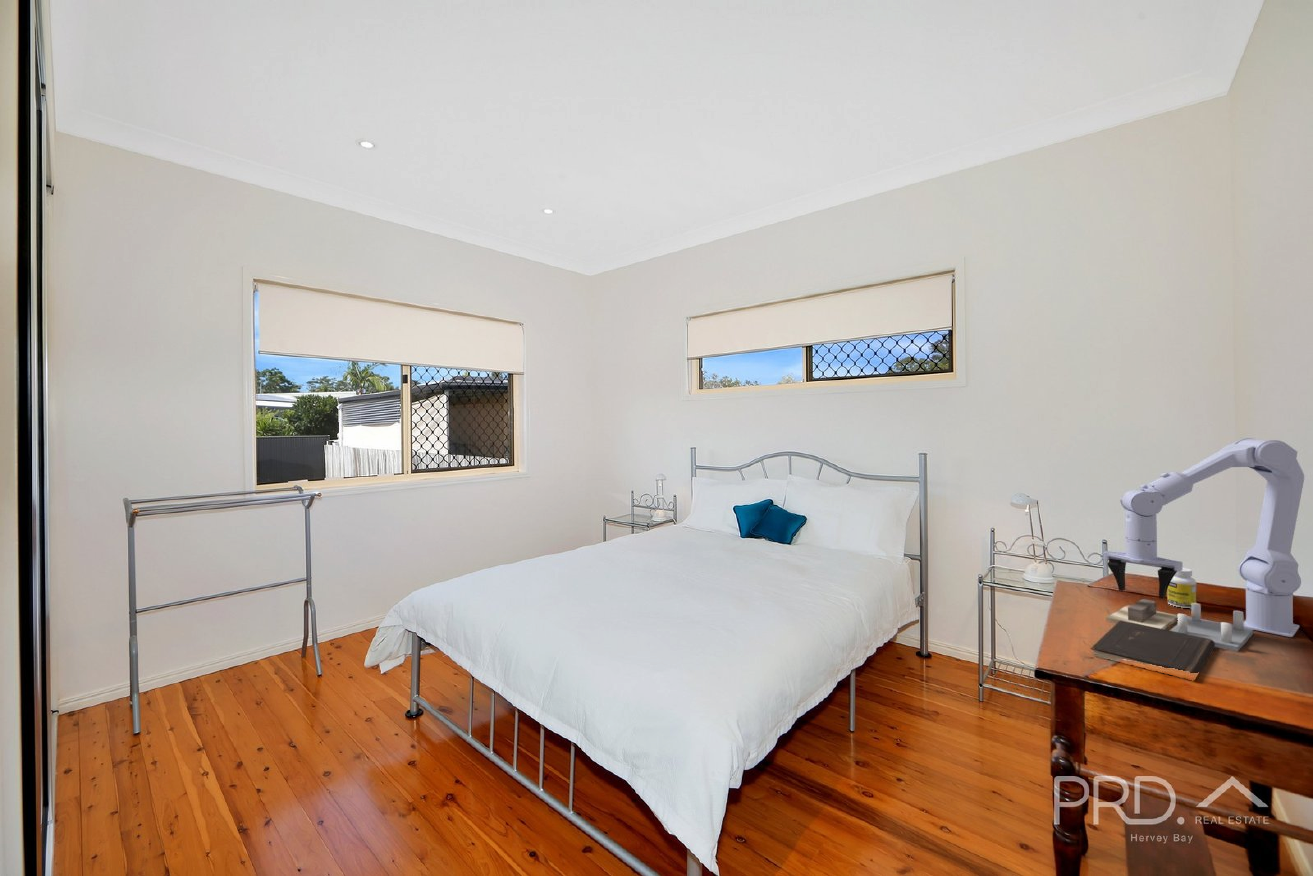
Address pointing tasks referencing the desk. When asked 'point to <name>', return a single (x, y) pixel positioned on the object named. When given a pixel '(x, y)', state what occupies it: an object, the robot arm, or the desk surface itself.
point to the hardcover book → (1154, 647)
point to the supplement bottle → (1182, 589)
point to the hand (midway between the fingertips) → (1141, 593)
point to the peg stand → (1215, 629)
